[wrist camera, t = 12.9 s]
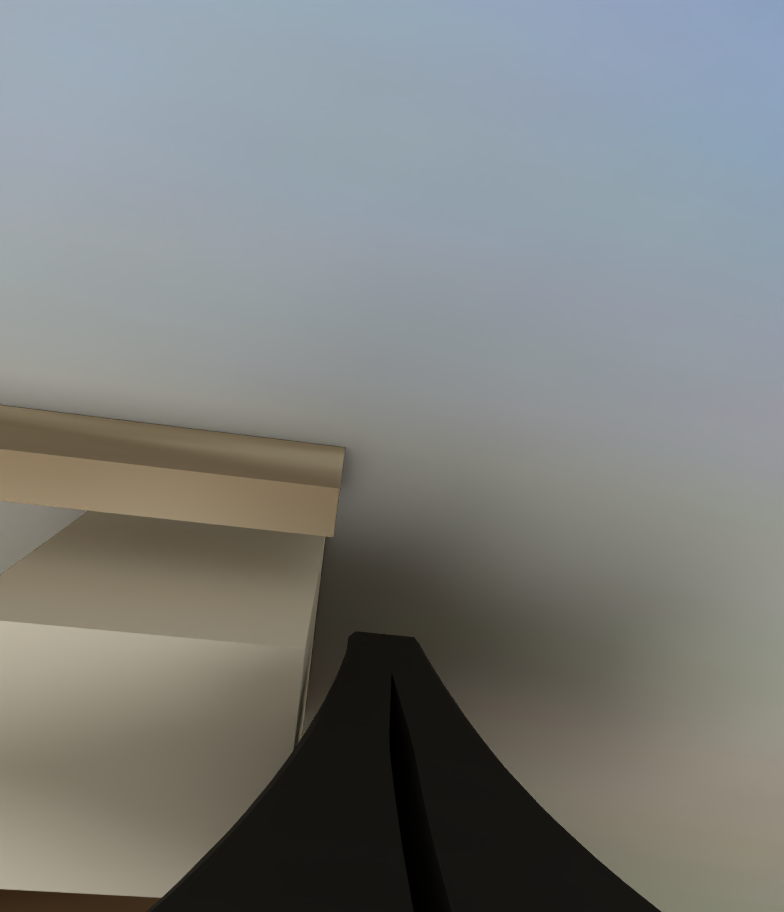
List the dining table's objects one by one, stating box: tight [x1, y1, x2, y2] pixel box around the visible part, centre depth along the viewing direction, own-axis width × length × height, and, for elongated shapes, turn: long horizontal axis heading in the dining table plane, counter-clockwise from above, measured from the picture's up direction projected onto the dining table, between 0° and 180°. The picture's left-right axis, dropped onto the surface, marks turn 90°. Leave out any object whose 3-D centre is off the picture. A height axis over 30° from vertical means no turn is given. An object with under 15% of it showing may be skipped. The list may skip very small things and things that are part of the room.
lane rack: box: [0, 405, 345, 537], centre depth 11 cm, size 15×10×3 cm, turn 172°
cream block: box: [0, 511, 325, 898], centre depth 9 cm, size 4×4×4 cm
